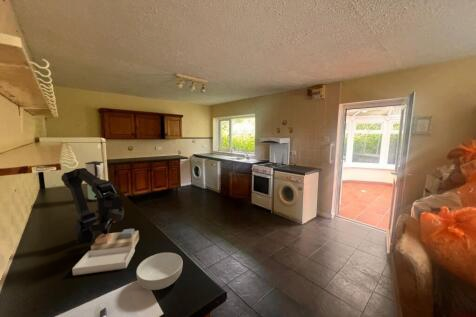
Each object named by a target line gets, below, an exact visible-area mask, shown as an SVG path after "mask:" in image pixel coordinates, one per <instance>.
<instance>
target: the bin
mask: <svg viewBox="0 0 476 317" xmlns="http://www.w3.org/2000/svg"><path fill="white" fill-rule="evenodd" d="M135 248H136V246H126V247H117V248H108V249H99V250H91V249H90V250H88V251H87V252H86V253H85V254H84V255H83V256H82V258H81V259H79V261H78V262H77V263H76V264H75V265H74V266H73V267H72V270H71V271H72V276H79V275H80V276H81V275H86V274H94V273H100V272H102V273H103V272H108V271H115V270H117V271H118V270H123V269H127V267H128V265H129V263H130V261H131V260H132V257H133V256H134V253H135V251H136V249H135Z"/></svg>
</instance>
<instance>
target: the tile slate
mask: <svg viewBox="0 0 476 317" xmlns="http://www.w3.org/2000/svg"><path fill="white" fill-rule="evenodd" d="M134 231H135V228H127V229H126V228H125V229H123V230H122V231H121V232H122V233H121V239H122V238H132V236H133V234H134Z"/></svg>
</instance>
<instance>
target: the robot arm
mask: <svg viewBox="0 0 476 317" xmlns="http://www.w3.org/2000/svg"><path fill="white" fill-rule="evenodd" d="M60 177H61V181H62V183H63V185H64V186H65V187H66V188H68V189H69V191H70V193H71V197H72V199H73V202H74V205H75V208H76V211H77V216H76V219H75V221H76V224H75V225H74V227H73V233H76V234H77V242H76V245H77V244H87V243H88V244H89V243H91V242H92V241H93V240H95V239H96V238H97V237H96V233H95V232H97V231H99V232H101V233H102V234H109V232H110V229H111V225H112V223H114V222H115V221H121V220H122V219H123V217H124V215H125V210H124V207H123V205H124V200H123V199H122V198H121V197H120V195H118V193H117V191H116V188H115V187H114V186H113V184H112V183H111V181H110V180H109V181H108V180H106V179H103V178H102V179H99V178H97V177H96V176H94V175H93V174H92V173H90V172H89V171H87V169H86V167H80V168H75V169H72V170H71V171H68V172H63V174H62V175H61V176H60ZM83 182H85V183H86V184H87V185H88V184H89V185H90V186H91V187H92V191H93V192H94V193H95V194H96V195H95V196H94V198H97V200H96V206H97V209H96V211H95V212H94V211H91V210H90V209H89V205H88V203H87V199H86V196H85V193H84V191H83V187H82V184H83ZM105 193H106V194H105ZM96 214H97V216H98V217H97V216H96ZM111 219H113V220H111ZM113 221H114V222H113Z"/></svg>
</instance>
